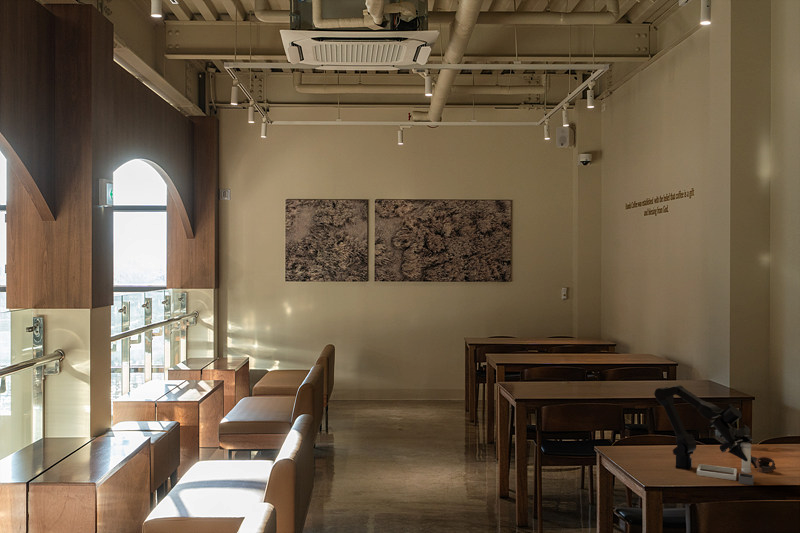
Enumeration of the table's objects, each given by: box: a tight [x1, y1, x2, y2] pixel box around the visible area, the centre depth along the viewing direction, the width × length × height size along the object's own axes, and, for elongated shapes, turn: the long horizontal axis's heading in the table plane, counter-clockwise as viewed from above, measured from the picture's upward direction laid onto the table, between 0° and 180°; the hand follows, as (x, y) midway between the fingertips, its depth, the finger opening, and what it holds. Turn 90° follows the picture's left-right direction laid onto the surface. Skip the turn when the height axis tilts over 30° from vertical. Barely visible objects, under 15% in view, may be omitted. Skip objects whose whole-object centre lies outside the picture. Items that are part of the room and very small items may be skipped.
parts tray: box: [696, 463, 738, 481], centre depth 309 cm, size 16×12×3 cm
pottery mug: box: [751, 456, 777, 474], centre depth 316 cm, size 12×10×8 cm
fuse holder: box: [738, 472, 754, 486], centre depth 298 cm, size 6×6×4 cm
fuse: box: [740, 442, 752, 474], centre depth 298 cm, size 4×4×12 cm
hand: (749, 460), depth 296 cm, fingers closed on fuse, 4 cm apart
